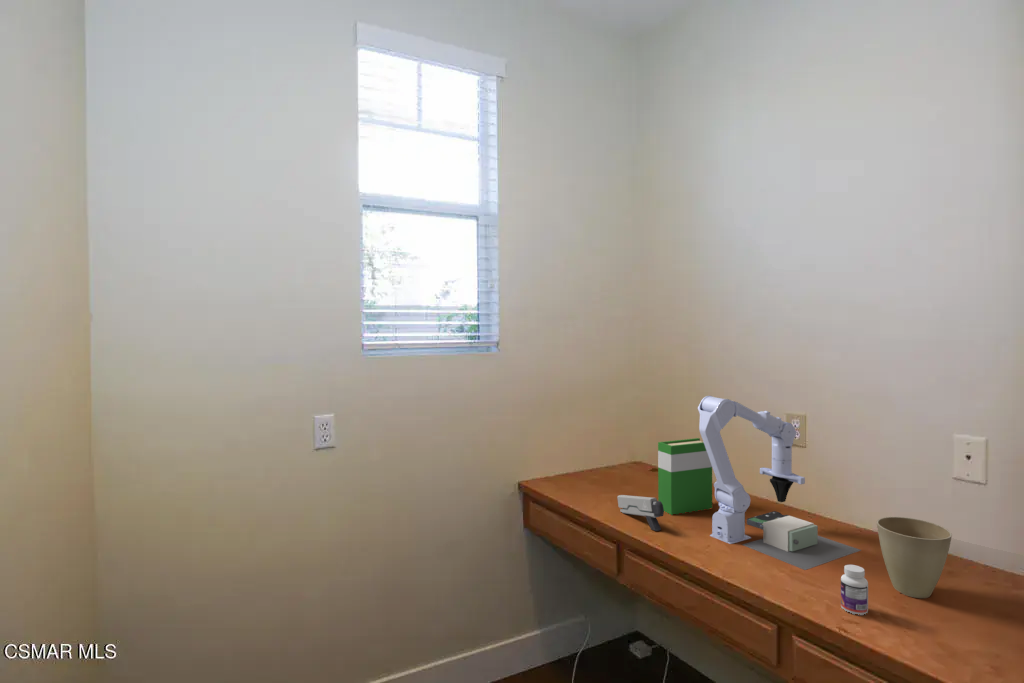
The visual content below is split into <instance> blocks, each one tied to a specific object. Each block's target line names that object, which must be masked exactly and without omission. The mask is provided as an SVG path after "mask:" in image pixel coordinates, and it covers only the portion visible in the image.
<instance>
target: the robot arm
mask: <svg viewBox="0 0 1024 683" xmlns="http://www.w3.org/2000/svg"><path fill="white" fill-rule="evenodd" d="M697 410H698V413H699V426H698V429H699V434H700V437H701V439H702V442H704V445H705V448H706V451H707V453H708V456H709V459H710V462H711V465H712V471H713V472H714V476H715V478H716V481H715V482H713V487H714V497H715V500H716V501H717V502H718V507H719V508H718V511H715V512H714V513H713V514H712V519H711V521H712V522H711V524H712V525H711V528H712V529H711V530H712V531H711V534H709V537H711V538H713V539H717V540H719V541H721V542H724V543H726V544H729V545H732V544H735V543H736V544H737V543H740V542H743V541H747V540H751V539H752V537H751V536H749V535H747V534H745V533H746V530H745V529H746V528H745V527H746V523H745V522H746V519H745V518H746V517H745V516H746V513H745V512H747V510H748V508H749V507H750V505H751V497H750V494H749V493H748V492H747V491H746V490H745V488H744V486H743V484H742V483H741V482H740V481H739V480H738V479H737V477H736V475H735V472H734V469H733V466H732V464H731V460H730V458H729V456H728V452H727V449H726V447H725V446H726V445H725V443H724V441H723V438H722V435H721V430H723V429H724V428H725V426H726V425H728V423H729V422H730V421H731V419H733V417H740V418H741V419H743V420H747V421H749V422H751V423H752V426H753V428H755V429H757V430H759V431H761V432H763V433H764V434H765V433H766V434H768V436H769V437H770V438H771V468H769V467H760V468H759V474H760V475H765V476H769V477H771V478H769V482H770V483H771V486H772V487H773V490H774V492H775V495H776V499H777V502H778V503H785V502H786V501H787V496H788V493H789V491H790V489H791V487H792V485H793V484H794V483H796V484H798V485H804V484H806V477H805V476H801V475H799V474H795V473H793V471H792V470H793V468H792V467H793V466H792V465H793V464H792V460H793V459H792V458H793V455H792V453H793V451H792V449H793V447H792V446H793V444H794V440H795V438H796V436H797V430H796V429H795V426H794V425H793V424H792V423H791V422H787V421H785V420H784V421H783V420H782V417H779V416H774V415H772V414H771V412H770V411H768V410H764V411H763V410H762V411H757V412H756V411H755V410H753V409H751V408H749V407H747V406H745V405H744V404H741V403H740V402H738V401H736V400H735V401H734V400H731V399H728V398H720V397H715V396H712V395H706V396H704V397H703V398H702V399H701V401H700V403H699V404H698V406H697Z"/></svg>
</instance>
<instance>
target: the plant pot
mask: <svg viewBox="0 0 1024 683" xmlns="http://www.w3.org/2000/svg"><path fill="white" fill-rule="evenodd" d="M876 528H877V532H878V533H877V535H878V539H879V545H880V550H881V553H882V554H881V555H882V557H883V561H884V562H883V563H884V564H885V568H886V570H887V573H888V576H889V579H890V582H891V585H892V586H893V588H894V589H895V590H896V591H897V592H899V593H900V594H902V595H904V596H908V597H911V598H915V599H916V598H917V599H927V598H930V597H931V595H932V594H933V592H934V590H935V588H936V586H937V584H938V582H939V580H940V577H941V575H942V572H943V570H944V567H945V566H946V565H945V564H946V561H947V558H948V554H949V550H950V546H951V541H952V537H953V534H952V532H951V531H950V530H949V529H948V528H945V527H944V526H941V525H940V524H936V523H933V522H930V521H927V520H923V519H917V518H911V517H901V516H885V517H881V518H879V519H877V520H876Z"/></svg>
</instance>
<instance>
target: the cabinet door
mask: <svg viewBox="0 0 1024 683" xmlns="http://www.w3.org/2000/svg"><path fill="white" fill-rule="evenodd" d="M818 529H819V528H818V525H816V524H814V525H811V526H808V527H804V528H801V529H797V530H794V531H790V532H789V551H792V552H793V551H796V550H799V549H802V548H806V547H809V546H812V545H815V544H817V543H818V536H819V534H818Z"/></svg>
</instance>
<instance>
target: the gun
mask: <svg viewBox="0 0 1024 683" xmlns="http://www.w3.org/2000/svg"><path fill="white" fill-rule="evenodd" d="M617 504H618V505H617V506H618V508H619V510H620V513H621V512H622V514H627V515H634V516H641V517H645V518H646V522H647V523H648V525H649V528H650V530H652V531H653V530H654V531H655V532H659V531H661V529H662V528H661V525H660V523H659V521H658V518H660V517H663V516H664V514H665V512H664V509H663V504H662V503H661V501H658V499H657V498H656V497H651V496H650V497H649V496H648V497H647V496H639V495H638V496H637V495H629V494H628V495H626V494H620V495H617Z"/></svg>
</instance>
